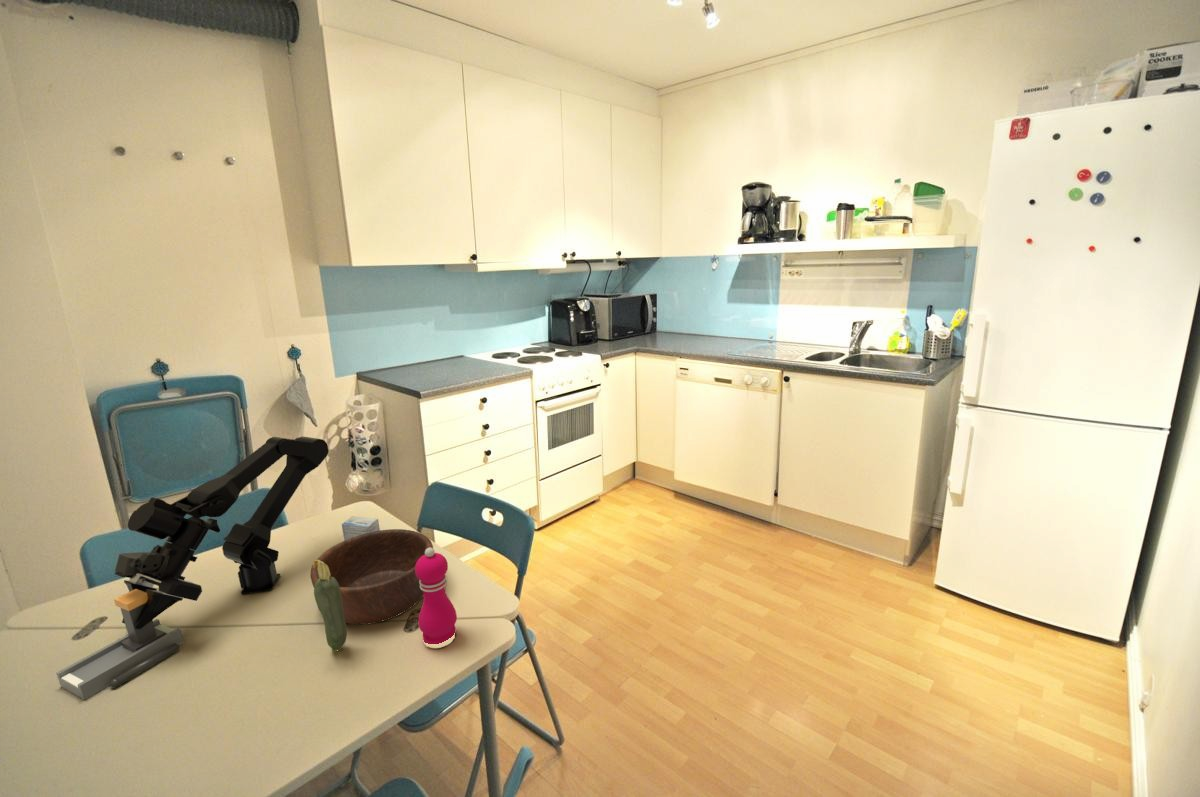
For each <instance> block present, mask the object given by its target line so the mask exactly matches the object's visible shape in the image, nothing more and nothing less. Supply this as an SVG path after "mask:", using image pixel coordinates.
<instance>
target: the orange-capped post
mask: <svg viewBox="0 0 1200 797" xmlns="http://www.w3.org/2000/svg"><path fill="white" fill-rule="evenodd" d="M147 600H148V596H147V593H146V592H143V591H141V590H138V589H134V590H132V591H130V592H129V591H128V592H126V593H124V594H123V595H120V596H118V597H115V598H114V599H113V601H114V604H115V607H117V608H120V611H121V615H122V620H123V619H124V622H125V624H124V625H125V628H126V632H127V635H128V636H129V638H128V639H126V640H124V641H122V642H121V644H122V646H124V647H126V648H128V649H130V650H132V651H134V652H136V651H138V650H140V649H141V648H143V647H145V646H147V645H148V644H150V643H152V642H154V641H156V640H157V639H159V638H161V637H163V636H164V635H166V634H165V632H163V631H160V630H158V629H156V628H154V624H153V621H154V619H153V620H152V621H150V622H149V623H148V624H146V625H145V626H144V627H143V628H141V629H135V628H134V626H135V624H136V622H137V619H138V618H139V616H140V614H141V612H142V610H143V608H144V606H145V604H146V602H147Z"/></svg>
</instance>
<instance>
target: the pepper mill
mask: <svg viewBox="0 0 1200 797" xmlns="http://www.w3.org/2000/svg"><path fill="white" fill-rule="evenodd" d="M448 569H449V564H448V561H447V558H446V557H445V556H444V555H443V554H442V553H439V552H435V550H434V547H433V548H427V549H426V550H425V555H423V556H422V557H420V558H419V560H418V561H417V563H416V565H415V574H416V576H417V578H418V579H419V580H420V581H419V583H420V589H421V590H423V594H424V595H423V600H422V602H423V603H422V606H421V608H420V612H419V615H418V629H419V630H420V631H421V632H422V641H423V640H424V642H425V643H428V644H439V643H442V642H444V641H446V640H448V639H449V638H451V637H452V636H453V635H454V633H455V630H456V625H455V624H456V622H457V621H458V620H457V619H458V616H457V611H456V609H455V607H454V604H453V603H452V601H451V600H450V599H449V596H448V594H447V592H446V585H447V583H448V580H447V575H446V574H447V572H448ZM456 631H457V630H456ZM424 642H423V643H424Z"/></svg>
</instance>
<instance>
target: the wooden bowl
mask: <svg viewBox="0 0 1200 797" xmlns="http://www.w3.org/2000/svg"><path fill="white" fill-rule="evenodd" d="M427 548H433V549H434V545H433V542H432V541H431V539H430V538H429V537H428V536H426V535H425V534H423V533H421V532H418V531H415V530H411V529H399V528H396V529H395V528H394V529H393V528H392V529H390V528H389V529H382V530H381V529H380V531H374V532H369V533H365V534H362V535H358V536H355V537H352V538H350V539H347V540H345V541H344V540H343V541H341V542H339V543H337V544H334V545H333V546H332V547H330V548H329V549H327V550H325V551H324V552H323V553H322V554H320V556H318V557H317V559H316V560H320V561H321V562H324V563H325V564H326V565H327V566H328V567H329V572H330V574H331V575H330V577H333V578H335V579H336V580H337V582H338V584H339V587H340V591H341V596H342V603H343V610H344V617H345V623H346V624H351V625H369V624H368V623H371V624H375V623H374V622H376V623H380V622H379V621H381V622H383V621H382V620H384V621H386V619H387V620H389V619H388V618H390V619H392V618H391V617H393V618H395V617H397V616H396V615H398V614H400V613H402V612H403V613H405V612H407V611H408V610H410V609H411V608H413V607H414V606H413V605H414V604H415V603H416V604H417V603H418V602H419V601H421V599H422V598H423V597H424V594H423V590H421V589H420V583H419V581H420V580H419V579H418V578H417V576H416V574H415V565H416V563H417V561H418V560H419V558H420V557H422V556H423V555H425V550H426V549H427ZM319 579H320V578H319V575H318V566H317V565H316V566H315V568H313V565H312V566H311V569H310V581H311V583H312V586H313V588H314V587H315V584H316V582H317V581H318V580H319ZM416 604H415V605H416ZM410 607H411V608H410ZM409 608H410V609H409ZM406 610H407V611H406ZM404 611H405V612H404ZM403 613H402V614H403ZM400 615H401V614H400ZM394 616H395V617H394ZM398 616H399V615H398Z"/></svg>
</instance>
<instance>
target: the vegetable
mask: <svg viewBox="0 0 1200 797" xmlns="http://www.w3.org/2000/svg"><path fill="white" fill-rule="evenodd" d="M316 565H317V566H318V575H319V578H320V579H319V580H318V581H317V582H316V584H315V587H313V595H314V596H313V597H314V599H315V603H316V606H317V608H318V611H319V613H320V615H321V617H322V620H323V623H324V631H325V636H326V643H327V645H328V646H329V648H330V649H331V651H332V652H338V651H340V650H341V648H342V647H344V645H345V643H346V641H347V634H348V633H347V632H348V630H347V629H348V628H347V625H346V624H347V623H345V617H344V610H343V603H342V596H341V591H340V587H339V584H338V582H337V580H336V579H335V578H333V577H330V575H331V574H330V572H329V567H328V566H327V565H326V564H325V563H324V562H321V561H320V560H317V559H315V560H314V561H313V562H312V566H313V568H315V566H316ZM337 650H338V651H337Z"/></svg>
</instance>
